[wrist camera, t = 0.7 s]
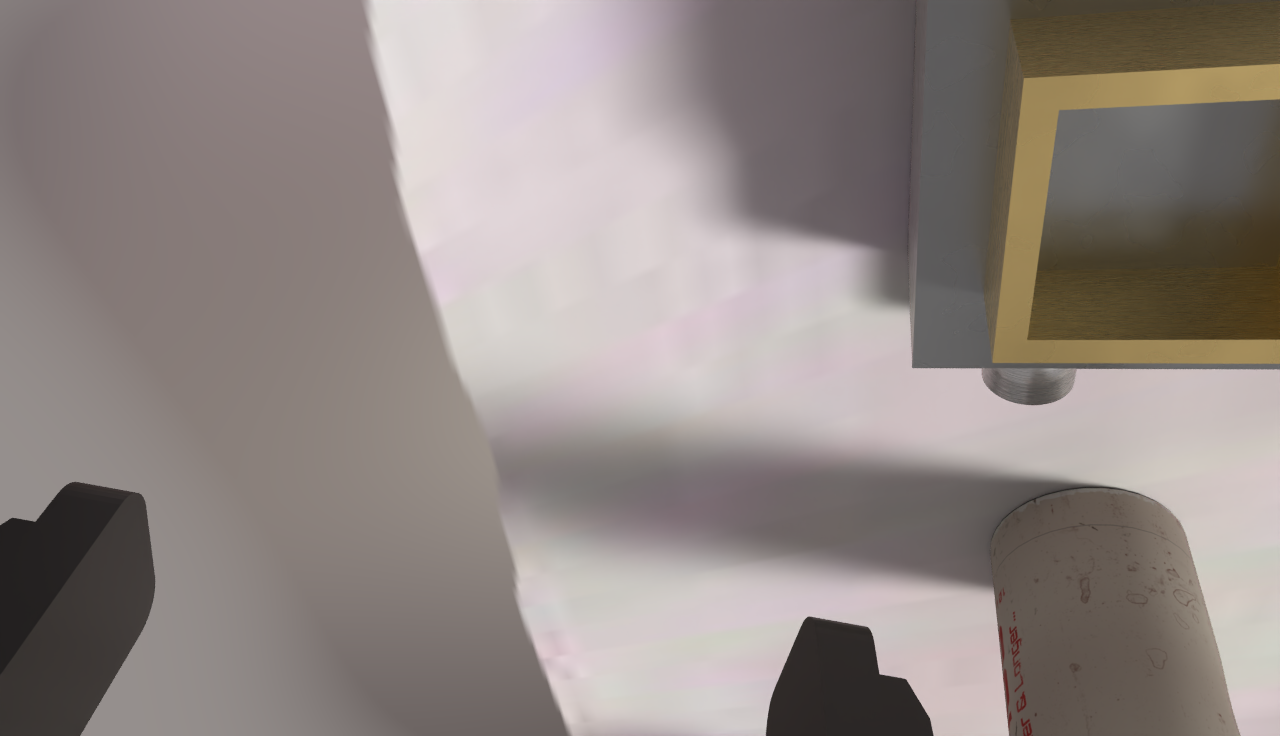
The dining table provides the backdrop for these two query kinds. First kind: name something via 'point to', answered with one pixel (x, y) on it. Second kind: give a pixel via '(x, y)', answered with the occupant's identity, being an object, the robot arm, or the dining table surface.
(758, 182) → the dining table surface
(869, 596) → the dining table surface
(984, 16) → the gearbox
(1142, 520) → the thermos bottle
